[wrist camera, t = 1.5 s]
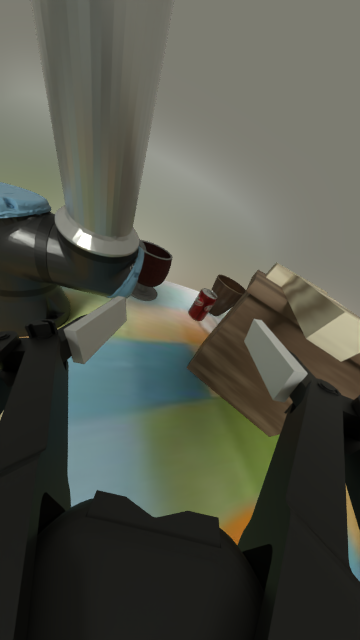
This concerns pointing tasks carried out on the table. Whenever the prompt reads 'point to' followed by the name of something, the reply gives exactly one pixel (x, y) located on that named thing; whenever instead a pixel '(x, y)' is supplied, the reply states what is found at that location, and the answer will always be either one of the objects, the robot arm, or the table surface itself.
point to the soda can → (202, 304)
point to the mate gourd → (151, 270)
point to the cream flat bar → (319, 314)
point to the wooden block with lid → (240, 369)
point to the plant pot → (225, 294)
